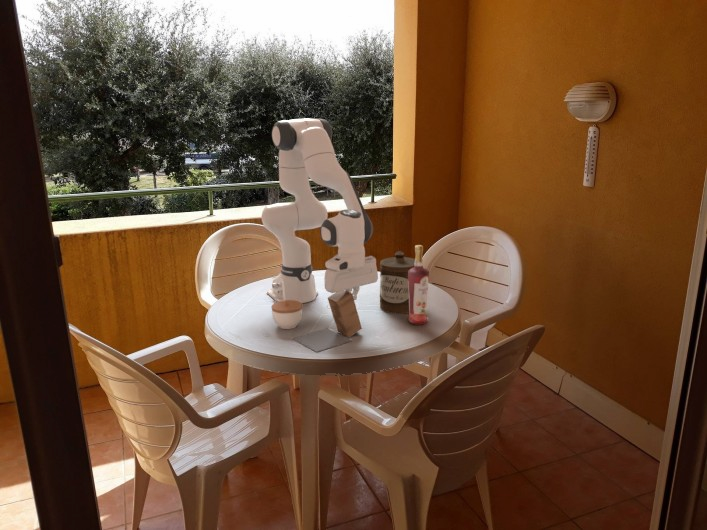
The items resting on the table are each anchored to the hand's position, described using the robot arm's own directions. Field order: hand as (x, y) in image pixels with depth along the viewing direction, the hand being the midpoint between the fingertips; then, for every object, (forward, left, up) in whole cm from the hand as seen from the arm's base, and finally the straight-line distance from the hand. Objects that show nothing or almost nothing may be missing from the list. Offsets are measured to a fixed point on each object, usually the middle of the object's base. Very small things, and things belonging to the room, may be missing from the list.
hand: (352, 300), depth 186 cm
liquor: (+7, +23, -12) cm, 27 cm away
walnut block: (-1, -1, -11) cm, 11 cm away
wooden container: (-9, +29, -12) cm, 33 cm away
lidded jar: (-20, -14, -12) cm, 27 cm away
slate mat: (-2, -12, -12) cm, 17 cm away
